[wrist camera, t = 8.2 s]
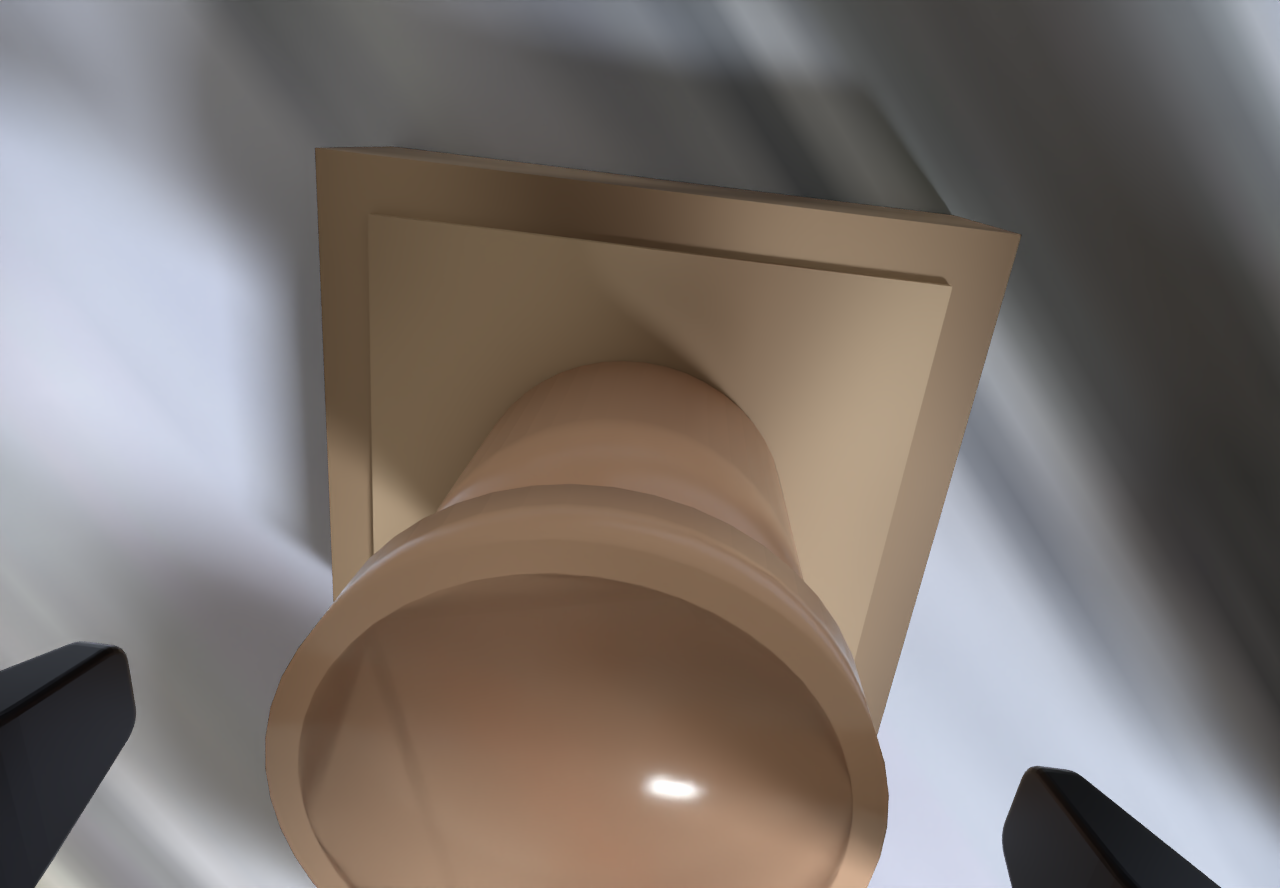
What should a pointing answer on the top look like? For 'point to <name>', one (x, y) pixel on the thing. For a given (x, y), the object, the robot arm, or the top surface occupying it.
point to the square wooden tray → (657, 345)
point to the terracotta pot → (585, 670)
